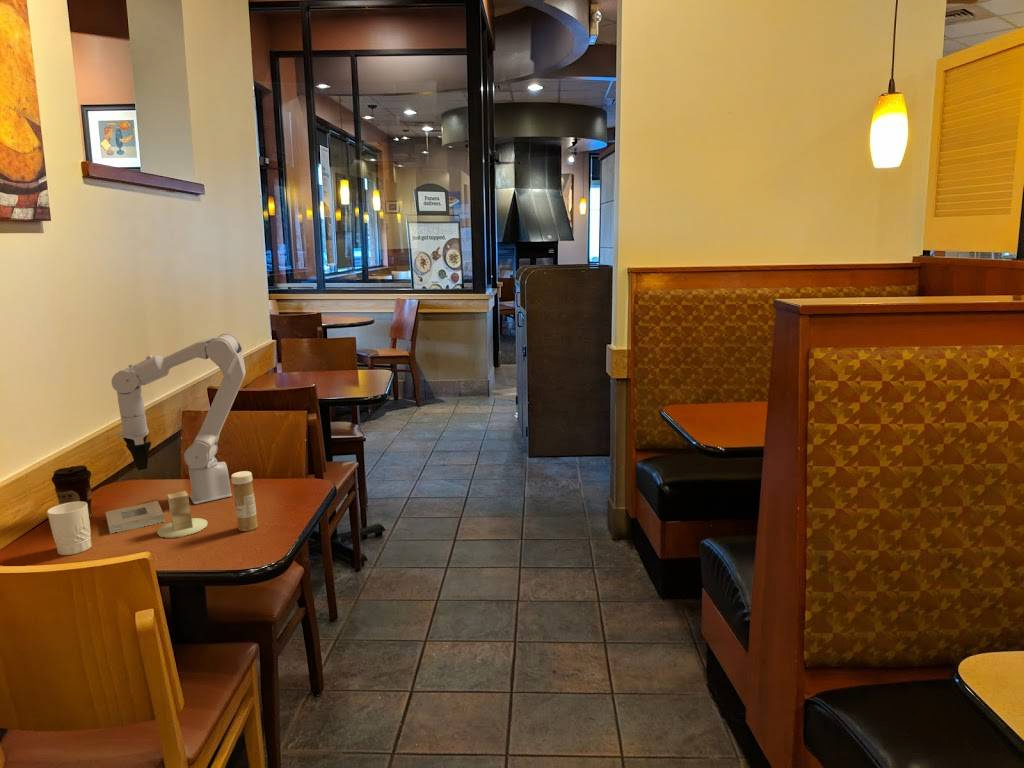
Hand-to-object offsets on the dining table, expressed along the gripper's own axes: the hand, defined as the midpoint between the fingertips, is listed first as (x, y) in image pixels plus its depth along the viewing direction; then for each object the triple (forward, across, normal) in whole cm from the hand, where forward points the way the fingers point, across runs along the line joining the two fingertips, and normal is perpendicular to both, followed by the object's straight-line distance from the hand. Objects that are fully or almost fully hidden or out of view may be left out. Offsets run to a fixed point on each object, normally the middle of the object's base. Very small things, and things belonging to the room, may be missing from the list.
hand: (140, 465), depth 198 cm
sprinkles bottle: (+10, +36, +18) cm, 42 cm away
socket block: (+10, +12, -4) cm, 16 cm away
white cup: (+11, +23, -17) cm, 31 cm away
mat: (+10, +26, +5) cm, 29 cm away
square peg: (+10, +26, +5) cm, 28 cm away
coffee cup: (+11, 0, -16) cm, 19 cm away
